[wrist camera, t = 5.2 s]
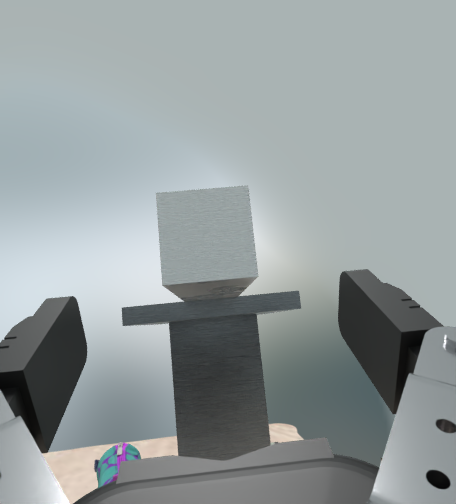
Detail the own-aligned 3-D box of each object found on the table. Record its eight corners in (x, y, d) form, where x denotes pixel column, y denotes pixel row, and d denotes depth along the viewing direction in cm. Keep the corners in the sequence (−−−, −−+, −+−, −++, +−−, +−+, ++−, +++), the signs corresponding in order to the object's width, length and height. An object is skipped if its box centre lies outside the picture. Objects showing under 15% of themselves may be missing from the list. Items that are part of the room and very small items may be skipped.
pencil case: (95, 496, 76) (93, 443, 77) (142, 486, 79) (139, 435, 80) (95, 552, 56) (93, 480, 58) (157, 535, 59) (153, 467, 61)
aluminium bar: (258, 276, 12) (248, 185, 13) (162, 285, 12) (155, 193, 13) (227, 307, 38) (224, 276, 38) (196, 310, 38) (193, 279, 38)
